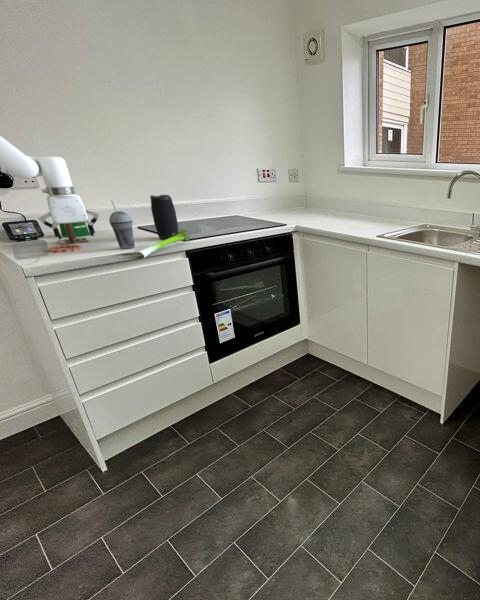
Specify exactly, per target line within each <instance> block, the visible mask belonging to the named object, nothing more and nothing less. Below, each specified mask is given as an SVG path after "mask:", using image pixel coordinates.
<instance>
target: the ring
mask: <svg viewBox="0 0 480 600" xmlns="http://www.w3.org/2000/svg"><path fill="white" fill-rule="evenodd" d="M79 250H83V247H82V246H81V245H80V244H67V245H60V244H59V245H54V246H50V247H48V248H47V249H46V252H47V253H51V254H58V253H60V254H61V253H71V252H76V251H79Z"/></svg>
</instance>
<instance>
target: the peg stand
mask: <svg viewBox="0 0 480 600" xmlns="http://www.w3.org/2000/svg"><path fill="white" fill-rule="evenodd" d="M64 226H65V229H66V232H67V236H68V237H67V239H58V240H57V242H58V244H59V246H60V245H78V244H87V243H89V240H88V239H87V238H86V237H76V236H75V233H74V230H73V227H72V223H64Z"/></svg>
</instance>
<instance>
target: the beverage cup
mask: <svg viewBox="0 0 480 600" xmlns="http://www.w3.org/2000/svg"><path fill="white" fill-rule="evenodd" d="M110 201H111V204H112V206H113V209H114V212H112V213H111V214H110V216H109V218H108V221H109V225H110V226H111V228H112V230H113V233H114V236H115V238H116V241H117V243H118V246H119V249H120V250H125V251H126V250H132V249H135V248H136V244H135V238H134V230H133V219H132V218H131V216H130V215H129V214H128V213H127V212H124V211H122V210H121V211H120V210H119V211H118V210H117V207H116V205H115V202H114V200H113V199H111V200H110Z"/></svg>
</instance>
